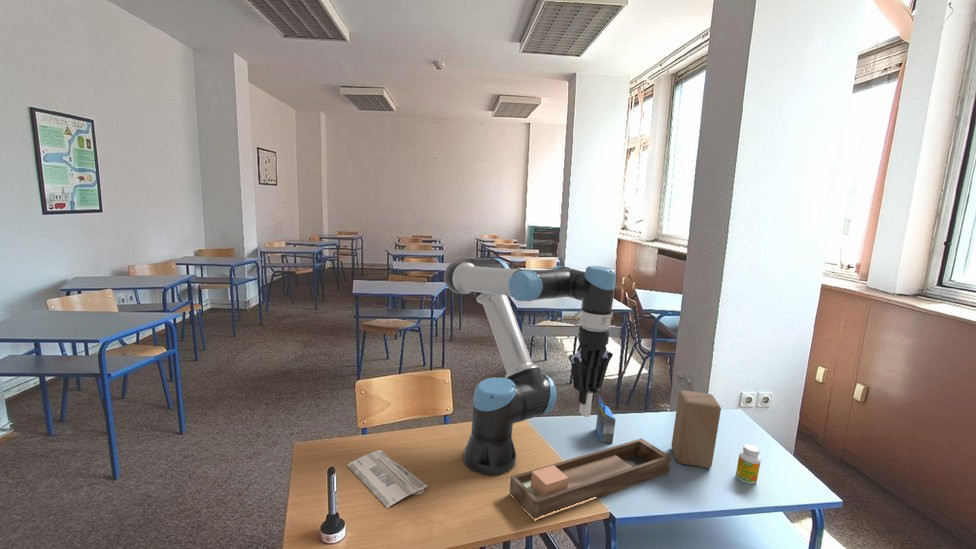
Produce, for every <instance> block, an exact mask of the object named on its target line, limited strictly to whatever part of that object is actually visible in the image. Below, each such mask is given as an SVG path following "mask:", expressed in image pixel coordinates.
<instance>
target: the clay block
mask: <svg viewBox="0 0 976 549" xmlns="http://www.w3.org/2000/svg"><path fill="white" fill-rule="evenodd" d="M551 465H552V464H551ZM548 466H549V465H548ZM544 467H545V466H544ZM541 468H542V467H541ZM534 470H535V469H534ZM531 487H532V488H533V489H534V490H535V491H536V492H537V493H538V494H539V495H540V496H541V497H544V496H547V495H550V494H553V493H556V492H559V491H562V490H565V489H567V487H568V477H567V476H566V475H565V474H564V473H562V472H561V471H560V470H559V469H558V468H557V467H555V466H554V465H552V466H549V467H545V468H542V469H539V470H535V471H532V476H531Z"/></svg>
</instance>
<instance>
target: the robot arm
mask: <svg viewBox="0 0 976 549" xmlns="http://www.w3.org/2000/svg"><path fill="white" fill-rule="evenodd" d="M616 275H617V274H616V271H615V269H614V268H611V267H607V266H600V265H588V266H587V267H586V268H585V271H582V270H578V269H575V268H572V267H568V266H560V265H559V266H558V265H557V266H555V267H553V268H552V269H551V268H550V269H534V270H533V269H518V268H510V267H509V265H508V263H507V262H506V261H504V260H503V259H501V258H498V257H490V256H489V257H477V258H474V257H472V258H471V257H470V258H466V257H465V258H459V259H455V260H453V261H452V262H450V263H449V264H448V266H446V269H445V271H444V274H443V278H444V279H443V280H444V283H445V285H446V287H447V288H448V289H449V290H450V291H451V292H453V293H455V294H461V295H469V294H470V295H471V294H473V295H474V297H475V300H476V302H477V303H479V304H481V305H482V306H483V308H484V311H485V314H486V317H487V321H488V323H489V326H490V329H491V332H492V335H493V337H494V340H495V342H496V346H497V349H498V352H499V356H500V357H501V360H502V361H501V362H502V363H503V367H504V370H505V372H506V373H505V376H504V377H501V376H500V377H497V376H495V377H494V376H493V377H490V378H489V377H488V378H485V379H483V380H481V381H480V382H479V383H478V384H477V385H476V387H474V388H475V389H474V394H473V398H472V418H471V420H472V421H471V433H470V436H469V438H468V440H467V443H466V446H465V448H464V449H463V462H464V464H465V465H466V467H468V469H470V470H472V471H473V472H474V473H478V474H481V475H485V476H486V475H488V476H499V475H498V474H500V475H503V474H502V473H504V474H506V473H505V472H507V473H509V472H510V471H511V470H510V469H512V468H513V467H514V468H515V466H516V461H517V452H516V449H515V445H514V441H513V436H512V435H513V426H514V424H516V423H520V422H523V421H527V420H529V419H530V420H531V419H533V418H534V419H535V418H539V417H542V416H543V415H546V414H548V413H550V412H551V411H552V410H553V408H555V404H556V401H557V389H556V385H555V382H554V381H553V379H552V378H551V377H549V375H547V374H544V373H542V371H541V369H540V366H539V365H537V364H535V363H533V360H532V357H531V356H530V353H529V350H528V348H527V345H526V342H525V339H524V336H523V334H522V330H521V329H520V326H519V323H518V321H517V317H516V315H515V312H514V311H513V310H514V309H513V308H512V305H511V302H510V299H509V298H510V297H512V298H514V300H516V301H518V302H532V301H539V300H540V301H541V300H549V299H550V300H551V299H552V300H553V299H560V298H561V299H562V298H569V299H570V298H571V299H574V300H578V301H581V310H580V316H579V318H580V319H579V325H580V326H579V329H578V336H577V340H578V343H579V344H578V347H577V349H576V351H577V352H576V353H574V354H570V355H568V360H569V361H570V362H571V363H570V364H571V373H572V383H573V385H572V386H573V389H574V390H577V391H578V392H579V393H578V394H579V395H578V403H579V408H578V409H579V410H578V414H581V415H582V416H583V417H584V418H589V417H591V414H592V413H591V412H592V404H593V402H594V398H595V394H597V393H598V392H599V390H598V389H601V388H602V386H603V382H604V380H605V376H606V373H607V369H608V366H609V365H610V364H609V363H610V361H611V359H612V357H613V355H614V354H613V353H612V352H611V351H609V350H607V345H608V344H609V338H610V330H609V329H610V328H611V322H612V321H611V320H612V313H613V312H612V310H613V304H614V303H613V302H614V297H615V290H616V277H617V276H616ZM514 465H515V466H514ZM514 468H513V469H514ZM513 469H512V470H513ZM509 470H510V471H509ZM508 471H509V472H508Z"/></svg>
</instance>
